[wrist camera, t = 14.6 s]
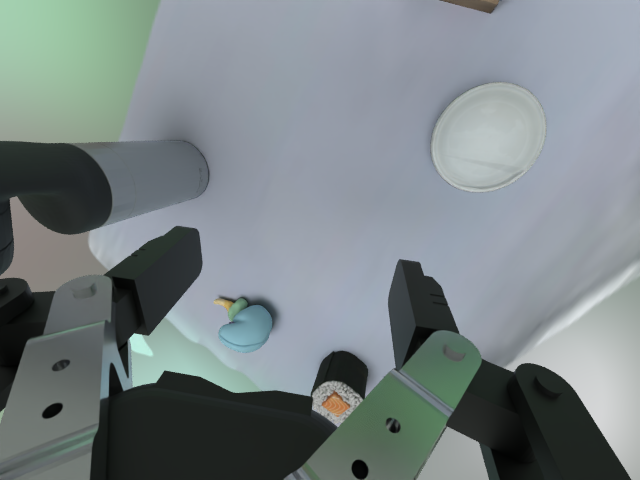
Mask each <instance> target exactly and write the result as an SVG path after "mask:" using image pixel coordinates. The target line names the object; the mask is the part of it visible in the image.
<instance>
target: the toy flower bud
mask: <svg viewBox="0 0 640 480" xmlns="http://www.w3.org/2000/svg"><path fill="white" fill-rule="evenodd" d="M214 304H220V305H222V306H224V307H225V308H226V309H227V311H228V316H229V319H230V320H231V322H229V324H226V325H224V326H222V327H221V328H220V330H219V339H220V341H221V342H222V343H223V344H224V345H225V346H227V347H228V348H230V349H232V350H235V351H237V352H242V353H247V352H253V351H255V350H257V349H259V348H260V347H261V346H262V345H264V344H265V342H266V341H267V340H268V338H269V334H270V331H271V329H272V318H271V315H270V314H269V312H268V311H267V310H266V309H265V308H264V307H263V306H260V305H253V306H250V307H247V306H248V304H247V302H246V300H245V299H243V298H240V299H238V300H237V301H236V302H235V303H233V302H231V301H228V300H224V299H219V298H218V299H216V300H214Z"/></svg>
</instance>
